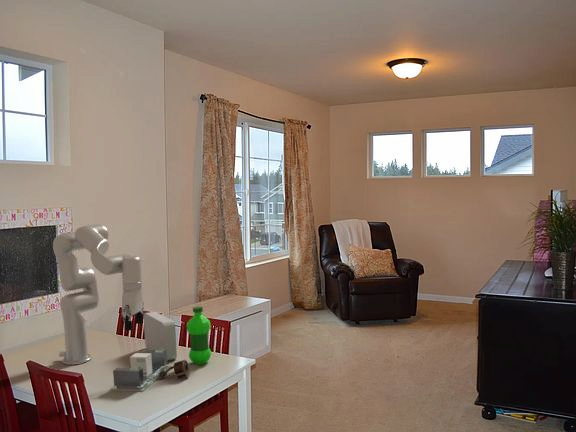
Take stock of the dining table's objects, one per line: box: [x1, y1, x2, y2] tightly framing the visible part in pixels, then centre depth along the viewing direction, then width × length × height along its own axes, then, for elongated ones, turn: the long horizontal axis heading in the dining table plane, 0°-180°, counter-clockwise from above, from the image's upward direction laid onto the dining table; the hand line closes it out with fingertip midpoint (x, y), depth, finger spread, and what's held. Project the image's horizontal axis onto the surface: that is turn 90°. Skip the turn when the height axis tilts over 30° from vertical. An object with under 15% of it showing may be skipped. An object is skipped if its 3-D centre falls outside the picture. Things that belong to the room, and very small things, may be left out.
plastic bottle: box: [186, 305, 212, 366], centre depth 236 cm, size 10×10×25 cm
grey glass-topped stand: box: [109, 348, 172, 392], centre depth 220 cm, size 14×27×9 cm, turn 169°
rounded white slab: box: [143, 311, 178, 362], centre depth 253 cm, size 29×8×18 cm, turn 33°
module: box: [129, 352, 152, 376], centre depth 220 cm, size 7×5×8 cm
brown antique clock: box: [158, 359, 191, 380], centre depth 220 cm, size 7×13×10 cm
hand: (134, 326), depth 221 cm, fingers open, 9 cm apart
